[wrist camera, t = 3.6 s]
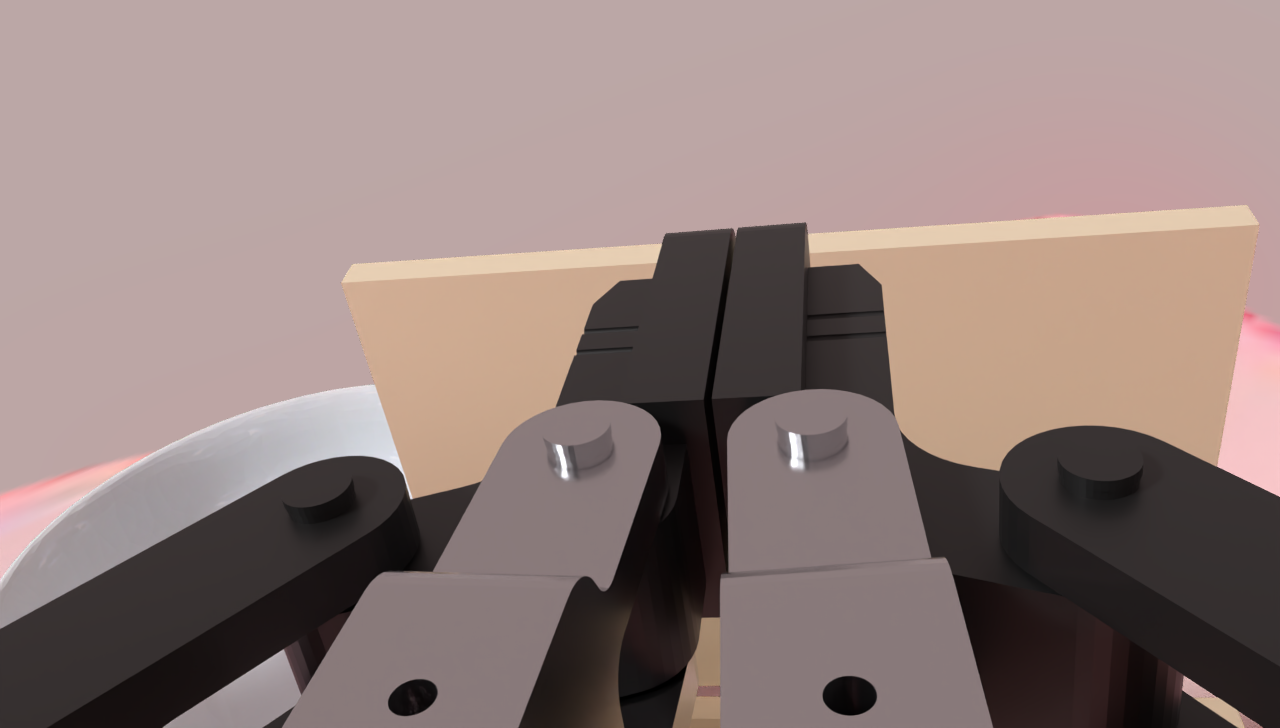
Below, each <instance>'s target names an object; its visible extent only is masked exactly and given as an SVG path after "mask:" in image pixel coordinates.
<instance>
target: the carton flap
mask: <svg viewBox="0 0 1280 728" xmlns="http://www.w3.org/2000/svg"><path fill="white" fill-rule="evenodd" d="M1258 230H1259V223H1258V222H1257V220H1256V218H1255V217H1254V215H1253V214H1252V212H1251V210H1250V209H1249V208H1248V206H1247V205H1239V206H1225V207H1211V208H1210V207H1209V208H1194V209H1181V210H1180V209H1179V210H1164V211H1150V212H1149V211H1148V212H1133V213H1118V214H1105V215H1104V214H1103V215H1088V216H1073V217H1058V218H1043V219H1028V220H1013V221H997V222H982V223H967V224H952V225H937V226H922V227H907V228H892V229H877V230H862V231H846V232H832V233H817V234H808V241H809V254H810V267H821V266H835V265H849V264H860V265H861V266H862V267H863V268H864V269H865V270H866V271H867V272H868V273H869V274H871V275H872V276H873V277H874V278H875V279H876V280H877V281H878V282H879V283H880V284H881V285H882V294H883V304H884V315H885V324H886V336H887V344H888V354H889V364H890V374H891V384H892V394H893V404H894V414H895V418H896V420H897V423H898V425H899V428H900V430H901V432H902V433H903V434H904V435H905V436H906V437H907V438H908V439H909V440H910V441H911V442H912V443H914V444H915V445H916V446H917V447H919V448H921V449H923V450H924V451H926V452H928V453H930V454H932V455H934V456H937V457H939V458H942V459H944V460H948V461H951V462H954V463H958V464H963V465H967V466H972V467H978V468H985V469H991V470H997V471H999V470H1000V467H1001V463H1002V461H1003V459H1004V458H1005V456H1006V455H1007V453H1008V452H1009V451H1010V450H1011V449H1012V448H1013V447H1014V446H1015V445H1017V444H1018V443H1020V442H1022V441H1023V440H1025V439H1026V438H1029V437H1031V436H1033V435H1036V434H1038V433H1041V432H1045V431H1048V430H1052V429H1057V428H1063V427H1069V426H1083V425H1088V426H1108V427H1117V428H1122V429H1128V430H1133V431H1136V432H1140V433H1143V434H1147V435H1150V436H1152V437H1155V438H1157V439H1160V440H1162V441H1164V442H1166V443H1169V444H1171V445H1173V446H1175V447H1177V448H1179V449H1181V450H1183V451H1185V452H1187V453H1189V454H1191V455H1193V456H1196V457H1198V458H1200V459H1202V460H1204V461H1206V462H1208V463H1210V464H1212V465H1214V466H1216V467H1217V464H1218V458H1219V452H1220V447H1221V441H1222V435H1223V430H1224V424H1225V418H1226V412H1227V407H1228V401H1229V395H1230V390H1231V384H1232V378H1233V373H1234V367H1235V361H1236V356H1237V350H1238V344H1239V338H1240V333H1241V327H1242V321H1243V316H1244V310H1245V304H1246V299H1247V293H1248V287H1249V282H1250V276H1251V270H1252V264H1253V258H1254V253H1255V247H1256V241H1257V236H1258ZM661 246H662V244H650V245H635V246H620V247H605V248H590V249H575V250H560V251H545V252H529V253H514V254H499V255H486V256H485V255H484V256H469V257H454V258H439V259H423V260H409V261H393V262H378V263H363V264H352V266H351V268H350V269H349V271H348V272H347V274H346V276H345V277H344V279H343V281H342V282H341V284H342V287H343V290H344V293H345V296H346V299H347V302H348V305H349V308H350V311H351V314H352V317H353V321H354V324H355V327H356V329H357V332H358V336H359V339H360V342H361V345H362V348H363V351H364V354H365V357H366V360H367V363H368V366H369V369H370V372H371V375H372V378H373V381H374V384H375V387H376V390H377V393H378V396H379V399H380V402H381V405H382V408H383V411H384V414H385V417H386V420H387V423H388V426H389V429H390V432H391V435H392V438H393V441H394V444H395V447H396V450H397V453H398V456H399V459H400V462H401V465H402V468H403V471H404V474H405V477H406V480H407V483H408V486H409V489H410V492H411V495H412V498H413V499H414V498H418V497H422V496H427V495H431V494H435V493H439V492H443V491H448V490H452V489H456V488H460V487H464V486H468V485H471V484H475V483H478V482H481V481H482V480H483V478H484V476H485V474H486V473H487V471H488V469H489V467H490V465H491V463H492V461H493V460H494V458H495V456H496V454H497V452H498V450H499V449H500V447H501V445H502V443H503V442H504V440H505V439H506V437H507V436H508V435H509V434H510V433H511V432H512V431H513V430H514V429H515V428H516V427H518V426H519V425H520V424H522V423H523V422H525V421H526V420H528V419H530V418H531V417H533V416H535V415H537V414H540V413H542V412H544V411H546V410H549V409H552V408H555V407H556V404H557V401H558V399H559V396H560V393H561V390H562V388H563V385H564V382H565V380H566V377H567V374H568V371H569V369H570V366H571V363H572V360H573V358H574V355H577V352H576V349H577V347H578V344H579V341H580V338H581V336H582V334H584V327H585V325H586V322H587V319H588V316H589V314H590V311H591V308H592V305H593V304H594V303H595V302H596V301H597V300H598V299H599V298H601V297H602V296H603V295H604V294H605V293H606V292H608V291H609V290H610V289H611V288H612V287H613V286H614V285H616V284H617V283H618V282H619V281H624V280H638V279H652V278H653V274H654V271H655V267H656V264H657V260H658V257H659V253H660V250H661ZM695 655H696V662H697V668H698V675H699V686H720V618H702V620H701V627H700V635H699V641H698V645H697V649H696V651H695Z"/></svg>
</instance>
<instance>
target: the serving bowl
mask: <svg viewBox="0 0 1280 728" xmlns="http://www.w3.org/2000/svg"><path fill="white" fill-rule="evenodd" d="M343 456H369V457H375V458H379V459H383V460H385V461H388V462H390V463H392V464H393V465H395V466H396V467H397V468H399V470H400V471H401V472H402V474H403V475H404V479H405V482H406V485H407V489H408V492H409V496H410V499H413V498H412V495H411V492H410V489H409V486H408V483H407V480H406V477H405V474H404V471H403V468H402V465H401V462H400V459H399V456H398V453H397V450H396V447H395V444H394V441H393V438H392V435H391V432H390V429H389V426H388V423H387V420H386V417H385V414H384V411H383V408H382V405H381V402H380V399H379V396H378V393H377V390H376V387H375V384H372V385H363V386H356V387H349V388H342V389H335V390H330V391H324V392H319V393H315V394H310V395H305V396H301V397H297V398H293V399H289V400H285V401H282V402H278V403H274V404H271V405H267V406H265V407H261V408H258V409H255V410H251V411H248V412H245V413H243V414H240V415H237V416H235V417H232V418H229V419H226V420H224V421H221V422H218V423H216V424H213V425H211V426H209V427H206V428H204V429H202V430H199V431H197V432H195V433H193V434H190V435H188V436H186V437H184V438H182V439H180V440H178V441H175V442H173V443H171V444H169V445H167V446H165V447H163V448H161V449H159V450H157V451H155V452H154V453H152V454H150V455H148V456H146V457H145V458H143V459H141V460H139V461H137V462H136V463H134V464H132V465H131V466H129V467H127V468H126V469H124V470H122V471H121V472H119V473H117V474H116V475H114V476H113V477H111V478H110V479H108V480H107V481H105V482H104V483H102V484H101V485H99V486H98V487H96V488H95V489H94V490H92V491H91V492H89V493H88V494H86V495H85V496H84V497H82V498H81V499H80V500H78V501H77V502H76V503H74V504H73V505H72V506H71V507H69V508H68V509H67V510H66V511H64V512H63V513H62V514H61V515H60V516H58V517H57V518H56V519H55V520H54V521H52V522H51V523H50V524H49V525H48V526H47V527H46V528H45V529H44V530H43V531H42V532H41V533H40V534H39V535H38V536H37V537H36V538H35V539H33V540H32V541H31V542H30V544H29V545H28V546H27V547H26V548H25V549H24V550H23V552H22V553H21V554H20V555H19V556H18V557H17V558H16V560H15V561H14V562H13V563H12V565H11V566H10V567H9V569H8V570H7V571H6V573H5V574H4V575H3V577H2V578H1V579H0V629H1V628H3V627H5V626H6V625H8V624H10V623H12V622H14V621H16V620H17V619H19V618H21V617H23V616H25V615H27V614H28V613H30V612H32V611H34V610H36V609H38V608H39V607H41V606H43V605H45V604H47V603H49V602H50V601H52V600H54V599H56V598H58V597H60V596H61V595H63V594H65V593H67V592H69V591H71V590H72V589H74V588H76V587H78V586H80V585H82V584H83V583H85V582H87V581H89V580H91V579H93V578H94V577H96V576H98V575H100V574H102V573H104V572H105V571H107V570H109V569H111V568H113V567H115V566H116V565H118V564H120V563H122V562H124V561H126V560H127V559H129V558H131V557H133V556H135V555H137V554H138V553H140V552H142V551H144V550H146V549H148V548H149V547H151V546H153V545H155V544H157V543H159V542H160V541H162V540H164V539H166V538H168V537H170V536H171V535H173V534H175V533H177V532H179V531H181V530H182V529H184V528H186V527H188V526H190V525H192V524H193V523H195V522H197V521H199V520H201V519H203V518H204V517H206V516H208V515H210V514H212V513H214V512H215V511H217V510H219V509H221V508H223V507H225V506H226V505H228V504H230V503H232V502H234V501H236V500H237V499H239V498H241V497H243V496H245V495H247V494H248V493H250V492H252V491H254V490H256V489H258V488H259V487H261V486H263V485H265V484H267V483H269V482H270V481H272V480H274V479H276V478H278V477H280V476H282V475H284V474H286V473H288V472H290V471H292V470H294V469H296V468H299V467H302V466H304V465H307V464H310V463H313V462H317V461H320V460H325V459H329V458H334V457H343ZM300 697H301V693H300V691H299V688H298V685H297V683H296V680H295V677H294V675H293V672H292V670H291V667H290V664H289V662H288V659H287V656H286V654H285V651H284V649H283V650H282V651H280V652H279V653H277V654H275V655H274V656H272V657H271V658H269V659H268V660H266V661H264V662H263V663H261V664H260V665H258V666H257V667H255V668H254V669H252V670H250V671H249V672H247V673H246V674H244V675H243V676H241V677H239V678H238V679H236V680H235V681H233V682H232V683H230V684H229V685H227V686H225V687H224V688H222V689H221V690H219V691H218V692H216V693H214V694H213V695H211V696H210V697H208V698H207V699H205V700H204V701H202V702H200V703H199V704H197V705H196V706H194V707H193V708H191V709H189V710H188V711H186V712H185V713H183V714H182V715H180V716H179V717H177V718H175V719H174V720H172V721H171V722H169V723H168V724H167V725H165V726H164V727H163V728H263V727H264V726H266V725H267V724H269V723H270V722H272V721H273V720H275V719H276V718H278V717H279V716H280V715H282V714H283V713H285V712H286V711H288V710H289V709H291V708H292V707H294V706H295V705H296V704H297V702H298V700H299V699H300Z"/></svg>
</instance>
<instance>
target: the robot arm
mask: <svg viewBox="0 0 1280 728" xmlns="http://www.w3.org/2000/svg"><path fill="white" fill-rule="evenodd" d="M576 352H577V355H574V358H573V360H572V363H571V366H570V369H569V371H568V374H567V377H566V380H565V382H564V385H563V388H562V390H561V393H560V396H559V399H558V401H557V404H556V407H555V408H552V409H549V410H546V411H544V412H542V413H540V414H537V415H535V416H533V417H531V418H530V419H528V420H526V421H525V422H523V423H522V424H520V425H519V426H518V427H516V428H515V429H514V430H513V431H512V432H511V433H510V434H509V435H508V436H507V437H506V439H505V440H504V442H503V443H502V445H501V447H500V449H499V450H498V452H497V454H496V456H495V458H494V460H493V461H492V463H491V465H490V467H489V469H488V471H487V473H486V474H485V476H484V478H483V480H482V481H481V482H478V483H475V484H471V485H468V486H464V487H460V488H456V489H452V490H448V491H443V492H439V493H435V494H431V495H427V496H422V497H418V498H414V499H410V496H409V492H408V489H407V485H406V482H405V479H404V475H403V474H402V472H401V471H400V470H399V468H397V467H396V466H395V465H393V464H392V463H390V462H388V461H385V460H383V459H379V458H375V457H369V456H343V457H334V458H329V459H325V460H320V461H317V462H313V463H310V464H307V465H304V466H302V467H299V468H296V469H294V470H292V471H290V472H288V473H286V474H284V475H282V476H280V477H278V478H276V479H274V480H272V481H270V482H269V483H267V484H265V485H263V486H261V487H259V488H258V489H256V490H254V491H252V492H250V493H248V494H247V495H245V496H243V497H241V498H239V499H237V500H236V501H234V502H232V503H230V504H228V505H226V506H225V507H223V508H221V509H219V510H217V511H215V512H214V513H212V514H210V515H208V516H206V517H204V518H203V519H201V520H199V521H197V522H195V523H193V524H192V525H190V526H188V527H186V528H184V529H182V530H181V531H179V532H177V533H175V534H173V535H171V536H170V537H168V538H166V539H164V540H162V541H160V542H159V543H157V544H155V545H153V546H151V547H149V548H148V549H146V550H144V551H142V552H140V553H138V554H137V555H135V556H133V557H131V558H129V559H127V560H126V561H124V562H122V563H120V564H118V565H116V566H115V567H113V568H111V569H109V570H107V571H105V572H104V573H102V574H100V575H98V576H96V577H94V578H93V579H91V580H89V581H87V582H85V583H83V584H82V585H80V586H78V587H76V588H74V589H72V590H71V591H69V592H67V593H65V594H63V595H61V596H60V597H58V598H56V599H54V600H52V601H50V602H49V603H47V604H45V605H43V606H41V607H39V608H38V609H36V610H34V611H32V612H30V613H28V614H27V615H25V616H23V617H21V618H19V619H17V620H16V621H14V622H12V623H10V624H8V625H6V626H5V627H3V628H1V629H0V728H163V727H164V726H165V725H167V724H168V723H169V722H171V721H172V720H174V719H175V718H177V717H179V716H180V715H182V714H183V713H185V712H186V711H188V710H189V709H191V708H193V707H194V706H196V705H197V704H199V703H200V702H202V701H204V700H205V699H207V698H208V697H210V696H211V695H213V694H214V693H216V692H218V691H219V690H221V689H222V688H224V687H225V686H227V685H229V684H230V683H232V682H233V681H235V680H236V679H238V678H239V677H241V676H243V675H244V674H246V673H247V672H249V671H250V670H252V669H254V668H255V667H257V666H258V665H260V664H261V663H263V662H264V661H266V660H268V659H269V658H271V657H272V656H274V655H275V654H277V653H279V652H280V651H282V650H283V649H284V651H285V654H286V656H287V659H288V662H289V664H290V667H291V670H292V672H293V675H294V677H295V680H296V683H297V685H298V688H299V691H300V693H301V697H300V699H299V700H298V702H297V704H296V705H295V706H294V707H292V708H291V709H289V710H288V711H286V712H285V713H283V714H282V715H280V716H279V717H278V718H276V719H275V720H273V721H272V722H270V723H269V724H267V725H266V726H264V727H263V728H690V723H691V719H692V714H693V710H694V705H695V701H696V696H697V692H698V686H699V675H698V668H697V662H696V655H695V651H696V649H697V645H698V641H699V635H700V627H701V620H702V618H720V728H1238V727H1236V726H1235V725H1233V724H1232V723H1230V722H1229V721H1227V720H1226V719H1224V718H1223V717H1221V716H1220V715H1218V714H1217V713H1215V712H1214V711H1212V710H1211V709H1209V708H1208V707H1206V706H1205V705H1203V704H1202V703H1200V702H1199V701H1197V700H1196V699H1194V698H1193V697H1191V696H1190V695H1188V694H1187V693H1185V692H1184V691H1182V686H1183V677H1184V676H1186V677H1187V678H1189V679H1190V680H1192V681H1193V682H1195V683H1196V684H1198V685H1200V686H1201V687H1203V688H1204V689H1206V690H1207V691H1209V692H1210V693H1212V694H1213V695H1215V696H1216V697H1218V698H1219V699H1221V700H1222V701H1224V702H1226V703H1227V704H1229V705H1230V706H1232V707H1233V708H1235V709H1236V710H1238V711H1239V712H1241V713H1242V714H1244V715H1245V716H1247V717H1248V718H1250V719H1252V720H1253V721H1255V722H1256V723H1258V724H1259V725H1260V726H1262V727H1263V728H1280V497H1279V496H1277V495H1275V494H1272V493H1270V492H1268V491H1266V490H1264V489H1262V488H1260V487H1258V486H1256V485H1254V484H1252V483H1250V482H1247V481H1245V480H1243V479H1241V478H1239V477H1237V476H1235V475H1233V474H1231V473H1229V472H1227V471H1225V470H1223V469H1220V468H1218V467H1216V466H1214V465H1212V464H1210V463H1208V462H1206V461H1204V460H1202V459H1200V458H1198V457H1196V456H1193V455H1191V454H1189V453H1187V452H1185V451H1183V450H1181V449H1179V448H1177V447H1175V446H1173V445H1171V444H1169V443H1166V442H1164V441H1162V440H1160V439H1157V438H1155V437H1152V436H1150V435H1147V434H1143V433H1140V432H1136V431H1133V430H1128V429H1122V428H1117V427H1108V426H1088V425H1083V426H1069V427H1063V428H1057V429H1052V430H1048V431H1045V432H1041V433H1038V434H1036V435H1033V436H1031V437H1029V438H1026V439H1025V440H1023V441H1022V442H1020V443H1018V444H1017V445H1015V446H1014V447H1013V448H1012V449H1011V450H1010V451H1009V452H1008V453H1007V455H1006V456H1005V458H1004V459H1003V461H1002V463H1001V467H1000V470H999V471H997V470H991V469H985V468H978V467H972V466H967V465H963V464H958V463H954V462H951V461H948V460H944V459H942V458H939V457H937V456H934V455H932V454H930V453H928V452H926V451H924V450H923V449H921V448H919V447H917V446H916V445H915V444H914V443H912V442H911V441H910V440H909V439H908V438H907V437H906V436H905V435H904V434H903V433H902V432H901V430H900V428H899V425H898V423H897V420H896V418H895V414H894V404H893V394H892V384H891V374H890V364H889V354H888V344H887V336H886V324H885V315H884V304H883V294H882V285H881V284H880V283H879V282H878V281H877V280H876V279H875V278H874V277H873V276H872V275H871V274H869V273H868V272H867V271H866V270H865V269H864V268H863V267H862V266H861V265H860V264H849V265H835V266H821V267H810V254H809V241H808V232H807V225H806V223H794V224H781V225H770V226H769V225H768V226H755V227H742V228H738V230H737V235H736V236H735V233H734V230H733V229H732V228H731V229H720V230H719V229H718V230H705V231H693V232H679V233H667V234H665V236H664V239H663V243H662V246H661V250H660V253H659V257H658V260H657V264H656V267H655V271H654V274H653V278H652V279H638V280H624V281H619V282H618V283H617V284H616V285H614V286H613V287H612V288H611V289H610V290H609V291H608V292H606V293H605V294H604V295H603V296H602V297H601V298H599V299H598V300H597V301H596V302H595V303H594V304H593V305H592V308H591V311H590V314H589V316H588V319H587V322H586V325H585V327H584V334H582V336H581V338H580V341H579V344H578V347H577V349H576Z"/></svg>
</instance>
